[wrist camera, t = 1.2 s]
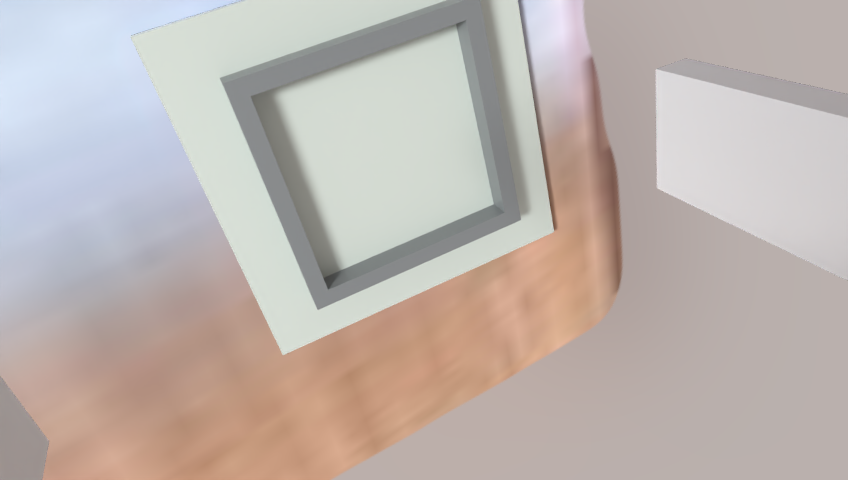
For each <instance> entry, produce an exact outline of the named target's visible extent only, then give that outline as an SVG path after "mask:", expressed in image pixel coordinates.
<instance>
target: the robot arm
mask: <svg viewBox="0 0 848 480" xmlns="http://www.w3.org/2000/svg"><path fill="white" fill-rule="evenodd" d="M656 149H657V151H656V152H657V189H659V190H661V191H663V192H665V193H667V194H670V195H672V196H674V197H676V198H678V199H680V200H682V201H684V202H686V203H688V204H690V205H692V206H694V207H696V208H698V209H700V210H703V211H705V212H707V213H709V214H711V215H713V216H715V217H717V218H719V219H721V220H723V221H725V222H727V223H730V224H731V225H734V226H736V227H738V228H740V229H742V230H744V231H746V232H748V233H750V234H752V235H754V236H756V237H759V238H760V239H763V240H764V241H767V242H769V243H771V244H773V245H775V246H777V247H779V248H781V249H783V250H785V251H787V252H789V253H792V254H793V255H795V256H798V257H800V258H802V259H804V260H806V261H808V262H810V263H812V264H814V265H816V266H818V267H820V268H822V269H825V270H826V271H828V272H831V273H833V274H835V275H837V276H839V277H841V278H843V279H845V280H847V281H848V94H845V93H841V92H836V91H832V90H827V89H823V88H818V87H814V86H809V85H805V84H800V83H796V82H791V81H786V80H782V79H777V78H773V77H768V76H764V75H759V74H754V73H750V72H746V71H741V70H737V69H732V68H728V67H723V66H719V65H714V64H709V63H704V62H700V61H696V60H691V59H687V58H685V59H682V60H680V61H677V62H674V63H671V64H669V65H666V66H663V67H660V68H657V69H656ZM48 445H49V440H48V439H47V438H46V436H45V435H44V434H43V432H42V431H41V430H40V428H39V427H38V426H37V424H36V423H35V422H34V420H33V419H32V418H31V416H30V415H29V414H28V412H27V411H26V410H25V408H24V407H23V406H22V404H21V403H20V402H19V400H18V399H17V398H16V396H15V395H14V394H13V392H12V391H11V390H10V388H9V387H8V386H7V384H6V383H5V382H4V380H3V379H2V378H1V376H0V480H42V478H43V472H44V467H45V461H46V456H47V450H48Z"/></svg>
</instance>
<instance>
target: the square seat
mask: <svg viewBox="0 0 848 480" xmlns="http://www.w3.org/2000/svg"><path fill="white" fill-rule="evenodd" d="M131 39H132V41H133V43H134V45H135V47H136V50H137V52H138V54H139V56H140V58H141V60H142V62H143V64H144V66H145V68H146V70H147V72H148V75H149V77H150V79H151V81H152V83H153V85H154V87H155V89H156V91H157V93H158V95H159V97H160V100H161V102H162V104H163V106H164V108H165V110H166V112H167V114H168V116H169V118H170V120H171V123H172V125H173V127H174V129H175V131H176V133H177V135H178V137H179V139H180V141H181V143H182V145H183V148H184V150H185V152H186V154H187V156H188V158H189V160H190V162H191V164H192V166H193V168H194V170H195V173H196V175H197V177H198V179H199V181H200V183H201V185H202V187H203V189H204V191H205V193H206V195H207V198H208V200H209V202H210V204H211V206H212V208H213V210H214V212H215V214H216V216H217V218H218V221H219V223H220V225H221V227H222V229H223V231H224V233H225V235H226V237H227V239H228V241H229V243H230V246H231V248H232V250H233V252H234V254H235V256H236V258H237V260H238V262H239V264H240V266H241V268H242V271H243V273H244V275H245V277H246V279H247V281H248V283H249V285H250V287H251V289H252V291H253V294H254V296H255V298H256V300H257V302H258V304H259V306H260V308H261V310H262V312H263V314H264V316H265V319H266V321H267V323H268V325H269V327H270V329H271V331H272V333H273V335H274V337H275V339H276V341H277V344H278V346H279V348H280V350H281V352H282V354H283V355H284V354H287V353H289V352H291V351H293V350H295V349H298V348H300V347H302V346H304V345H306V344H309V343H311V342H313V341H315V340H317V339H320V338H322V337H324V336H326V335H328V334H331V333H333V332H335V331H337V330H339V329H342V328H344V327H346V326H348V325H350V324H353V323H355V322H357V321H359V320H361V319H364V318H366V317H368V316H370V315H372V314H375V313H377V312H379V311H381V310H383V309H386V308H388V307H390V306H392V305H395V304H397V303H399V302H401V301H403V300H406V299H408V298H410V297H412V296H414V295H417V294H419V293H421V292H423V291H425V290H428V289H430V288H432V287H434V286H436V285H439V284H441V283H443V282H445V281H447V280H450V279H452V278H454V277H456V276H458V275H461V274H463V273H465V272H467V271H469V270H472V269H474V268H476V267H478V266H480V265H483V264H485V263H487V262H489V261H491V260H494V259H496V258H498V257H500V256H502V255H505V254H507V253H509V252H511V251H513V250H516V249H518V248H520V247H522V246H524V245H527V244H529V243H531V242H533V241H535V240H538V239H540V238H542V237H544V236H546V235H549V234H551V233H553V232H554V228H553V222H552V215H551V209H550V203H549V196H548V190H547V184H546V177H545V171H544V164H543V158H542V152H541V145H540V139H539V133H538V126H537V120H536V113H535V107H534V101H533V94H532V88H531V82H530V75H529V69H528V62H527V56H526V50H525V43H524V37H523V31H522V24H521V18H520V11H519V5H518V0H241V1H238V2H235V3H232V4H229V5H225V6H222V7H219V8H216V9H213V10H210V11H207V12H203V13H200V14H197V15H194V16H191V17H188V18H184V19H181V20H178V21H175V22H172V23H169V24H165V25H162V26H159V27H156V28H153V29H150V30H146V31H143V32H140V33H137V34H134V35H131Z"/></svg>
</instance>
